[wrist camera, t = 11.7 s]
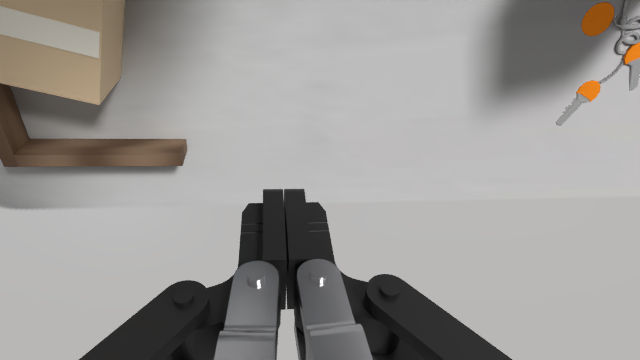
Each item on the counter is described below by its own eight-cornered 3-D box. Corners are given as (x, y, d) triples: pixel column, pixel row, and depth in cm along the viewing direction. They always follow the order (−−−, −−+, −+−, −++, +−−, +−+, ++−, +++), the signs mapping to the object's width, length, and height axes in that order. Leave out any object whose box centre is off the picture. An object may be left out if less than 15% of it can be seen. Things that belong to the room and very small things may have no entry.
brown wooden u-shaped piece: (154, -92, 25) (144, -90, 23) (187, 149, 35) (182, 165, 33) (-83, -108, 24) (-116, -108, 22) (20, 149, 33) (4, 166, 31)
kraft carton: (128, -38, 27) (102, -25, 23) (121, 77, 31) (98, 105, 27) (-14, -81, 25) (-70, -76, 21) (-1, 47, 29) (-46, 73, 25)
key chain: (588, -29, 30) (595, -27, 30) (683, -40, 31) (693, -39, 30) (547, 125, 38) (552, 129, 37) (624, 115, 38) (631, 119, 37)
